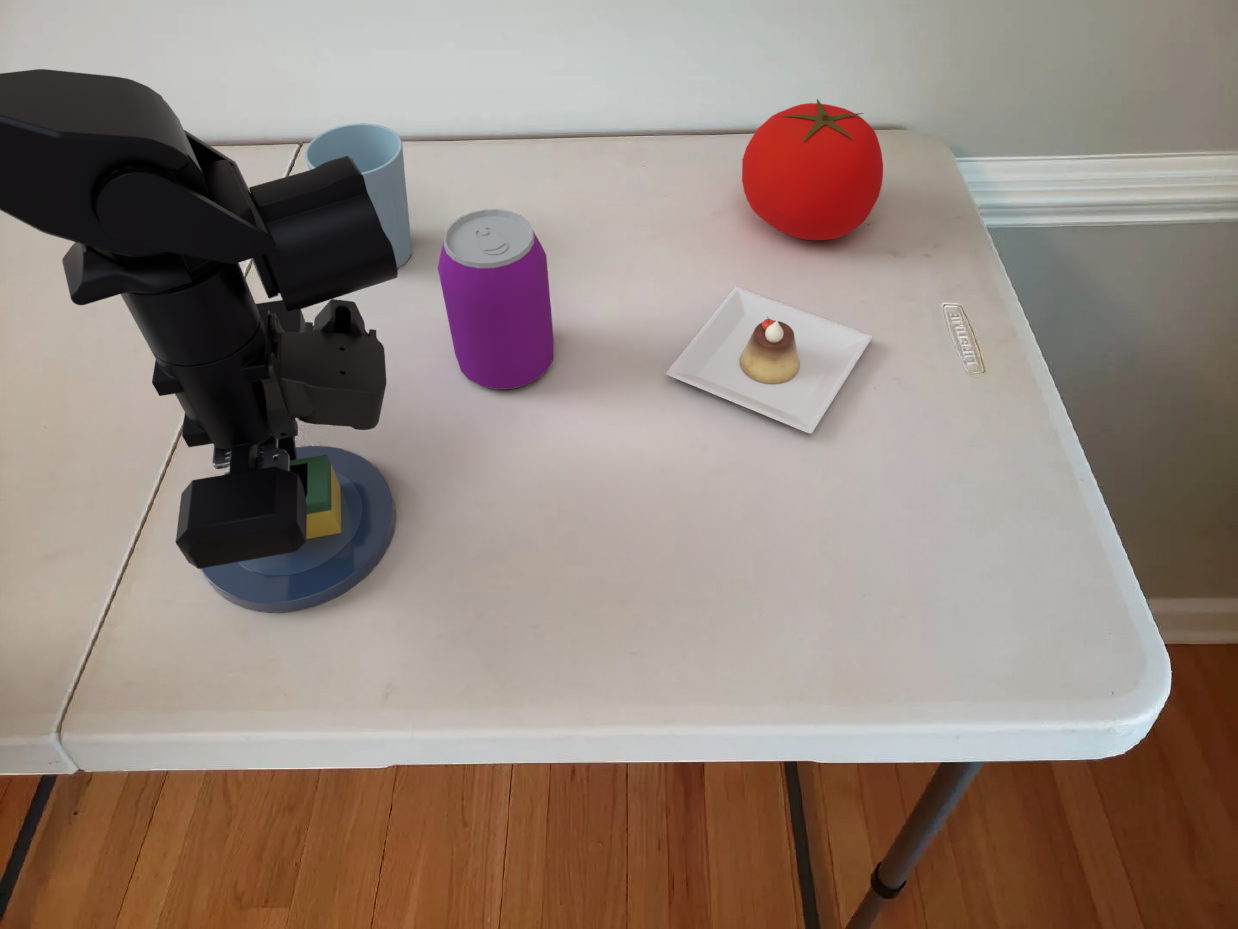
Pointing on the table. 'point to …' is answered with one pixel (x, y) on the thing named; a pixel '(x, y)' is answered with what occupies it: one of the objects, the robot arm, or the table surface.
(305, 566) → the plate
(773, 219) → the tomato
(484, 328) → the beverage can
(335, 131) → the cup
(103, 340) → the table surface
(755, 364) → the dessert
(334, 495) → the sponge
